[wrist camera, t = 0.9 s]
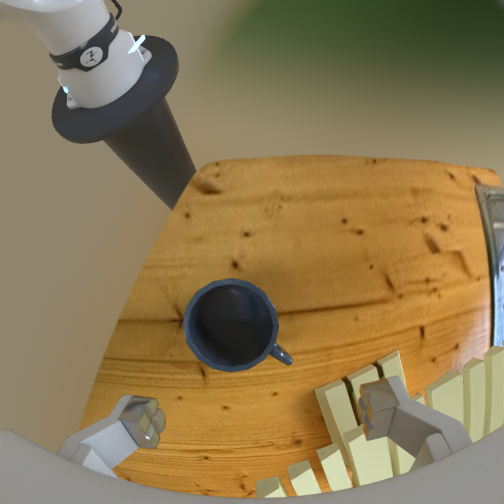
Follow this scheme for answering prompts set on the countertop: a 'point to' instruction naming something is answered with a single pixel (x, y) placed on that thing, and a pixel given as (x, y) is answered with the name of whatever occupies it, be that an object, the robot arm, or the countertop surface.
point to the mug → (232, 326)
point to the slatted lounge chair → (383, 449)
